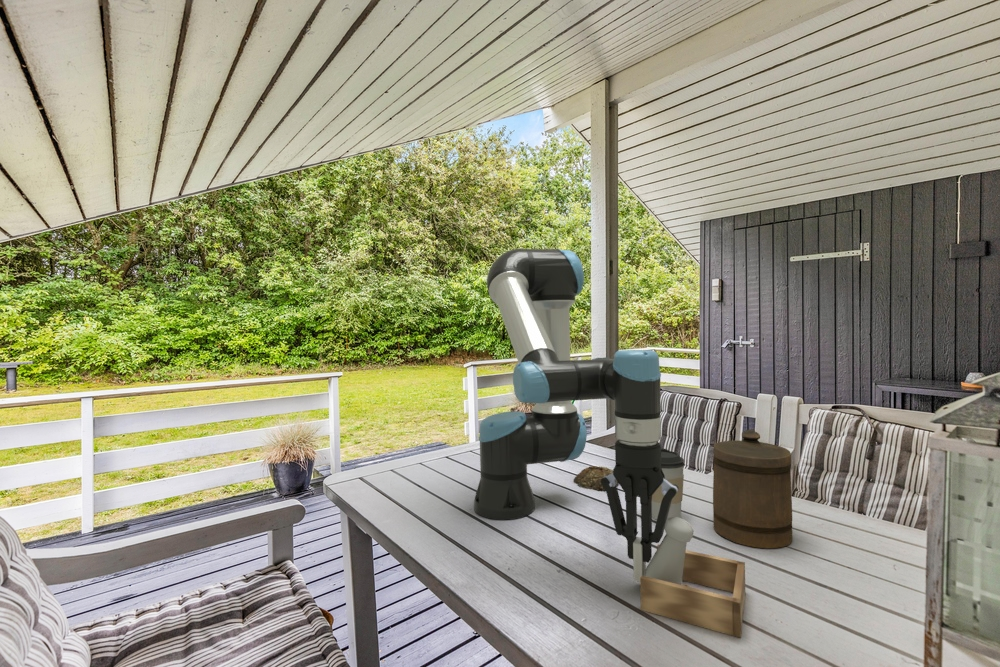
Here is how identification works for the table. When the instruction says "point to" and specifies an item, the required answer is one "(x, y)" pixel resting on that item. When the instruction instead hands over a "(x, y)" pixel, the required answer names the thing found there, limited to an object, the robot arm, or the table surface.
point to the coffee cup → (673, 475)
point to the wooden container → (752, 492)
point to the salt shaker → (671, 552)
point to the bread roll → (592, 477)
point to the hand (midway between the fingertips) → (639, 578)
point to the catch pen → (700, 594)
